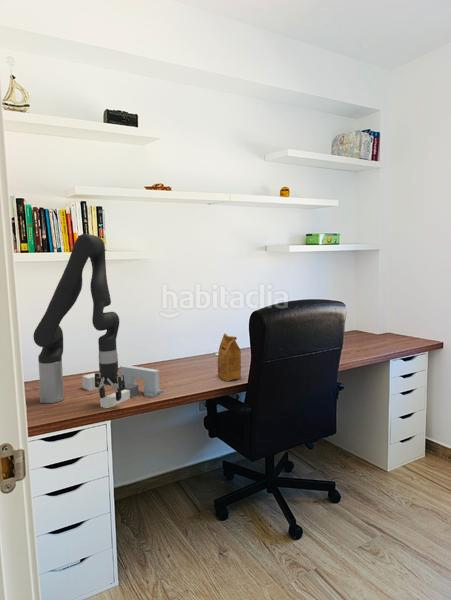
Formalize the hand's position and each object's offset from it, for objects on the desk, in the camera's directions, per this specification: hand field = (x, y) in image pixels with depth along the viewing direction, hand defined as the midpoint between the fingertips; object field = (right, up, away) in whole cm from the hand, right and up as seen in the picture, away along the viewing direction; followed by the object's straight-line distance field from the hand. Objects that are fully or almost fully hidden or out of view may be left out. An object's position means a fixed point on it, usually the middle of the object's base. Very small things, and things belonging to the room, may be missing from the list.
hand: (110, 398), depth 174 cm
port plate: (+9, -1, +17) cm, 19 cm away
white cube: (-15, -1, +23) cm, 28 cm away
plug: (+3, -2, +6) cm, 7 cm away
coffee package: (+49, +2, +37) cm, 62 cm away
